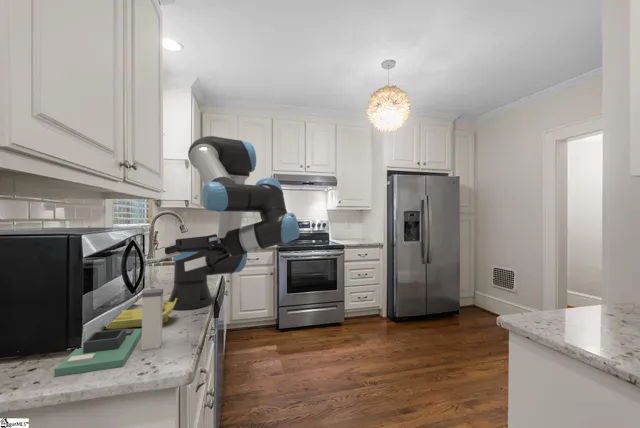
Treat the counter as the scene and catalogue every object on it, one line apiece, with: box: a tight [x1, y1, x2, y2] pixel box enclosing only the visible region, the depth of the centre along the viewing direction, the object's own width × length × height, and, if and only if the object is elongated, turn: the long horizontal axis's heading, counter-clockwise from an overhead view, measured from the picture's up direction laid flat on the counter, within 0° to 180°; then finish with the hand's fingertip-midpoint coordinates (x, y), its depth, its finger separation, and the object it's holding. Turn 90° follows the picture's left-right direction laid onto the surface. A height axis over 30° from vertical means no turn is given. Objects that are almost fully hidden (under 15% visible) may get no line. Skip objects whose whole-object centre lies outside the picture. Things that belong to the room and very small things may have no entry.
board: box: [54, 327, 142, 377], centre depth 71 cm, size 20×12×4 cm, turn 21°
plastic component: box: [105, 298, 178, 330], centre depth 92 cm, size 20×7×10 cm
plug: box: [141, 288, 164, 351], centre depth 75 cm, size 4×4×14 cm
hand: (171, 261), depth 81 cm, fingers open, 13 cm apart
